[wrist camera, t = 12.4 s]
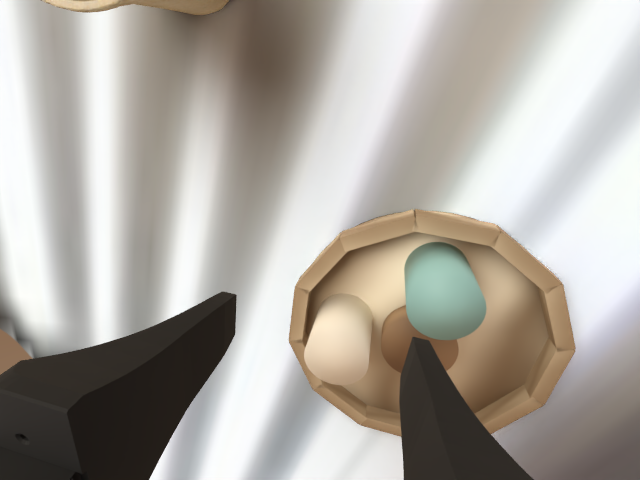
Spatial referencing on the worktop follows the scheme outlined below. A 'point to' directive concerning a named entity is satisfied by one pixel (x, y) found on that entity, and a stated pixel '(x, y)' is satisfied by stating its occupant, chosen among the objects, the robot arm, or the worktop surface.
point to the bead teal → (442, 292)
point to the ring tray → (476, 350)
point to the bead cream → (340, 340)
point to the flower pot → (195, 3)
